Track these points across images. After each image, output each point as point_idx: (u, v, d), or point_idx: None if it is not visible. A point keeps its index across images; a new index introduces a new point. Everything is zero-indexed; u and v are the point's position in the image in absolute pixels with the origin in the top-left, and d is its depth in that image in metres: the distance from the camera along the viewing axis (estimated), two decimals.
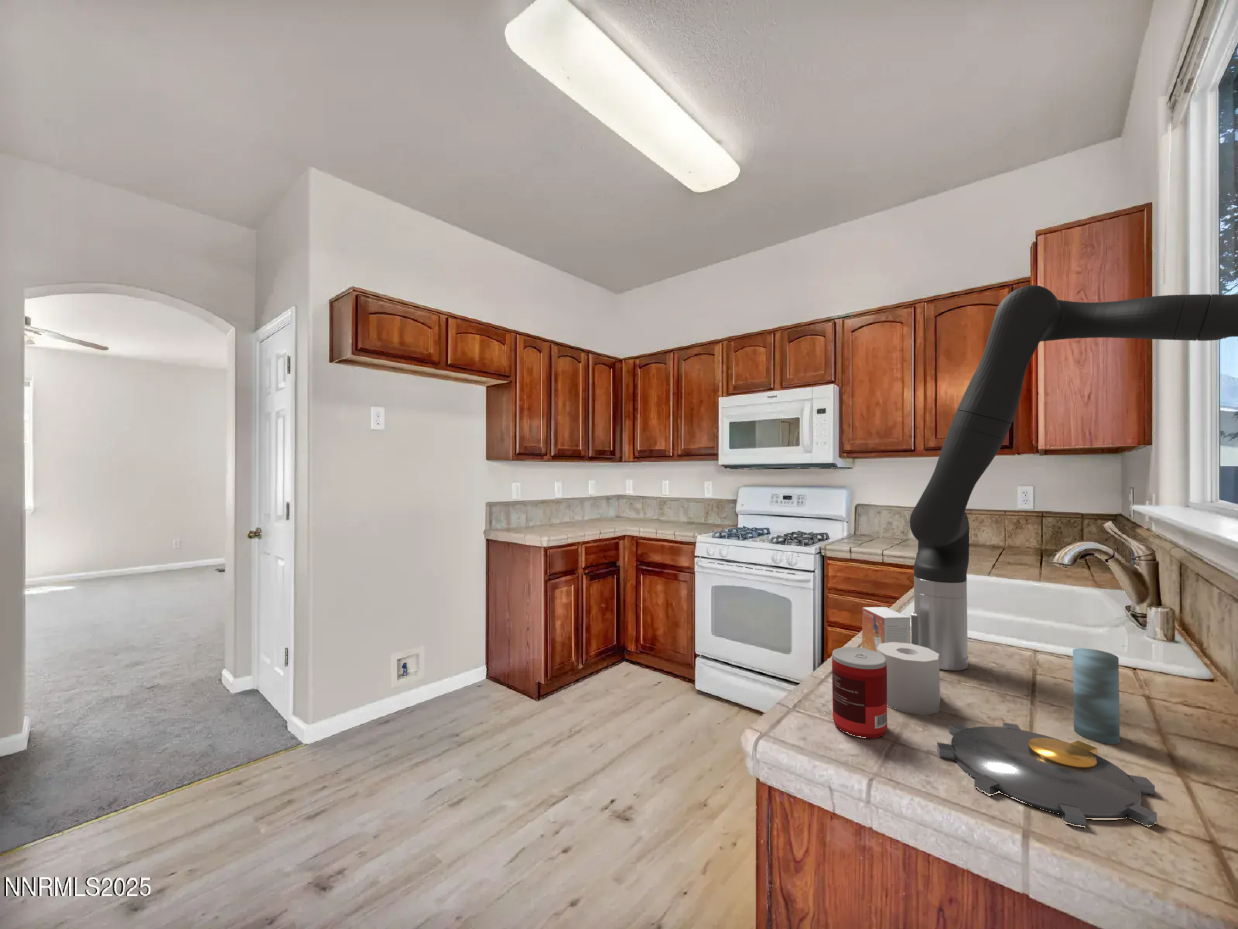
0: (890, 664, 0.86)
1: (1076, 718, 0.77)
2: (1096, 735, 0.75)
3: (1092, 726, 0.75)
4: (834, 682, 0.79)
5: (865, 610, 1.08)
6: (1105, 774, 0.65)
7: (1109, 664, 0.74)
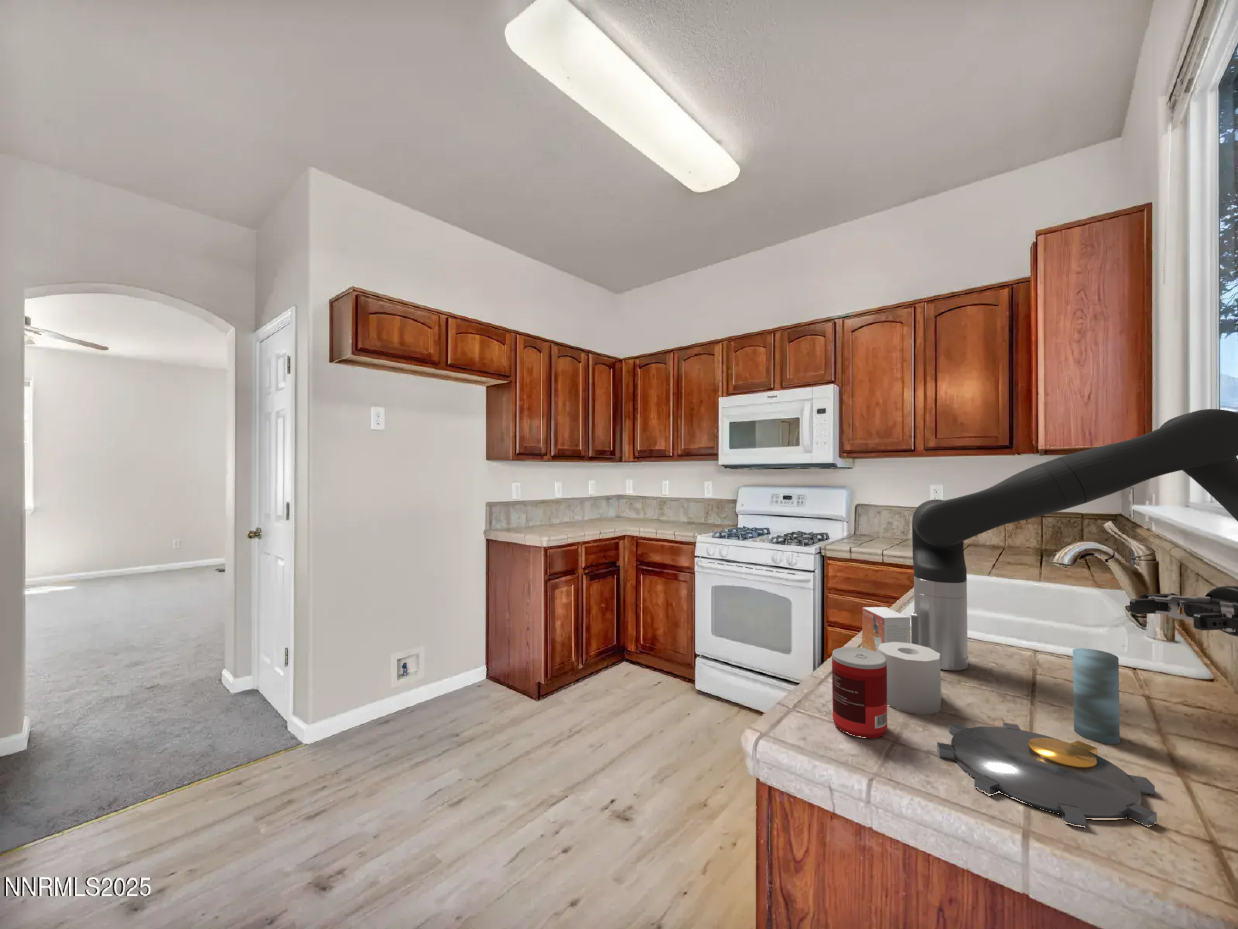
0: (892, 663, 0.86)
1: (1076, 718, 0.77)
2: (1096, 735, 0.75)
3: (1092, 725, 0.75)
4: (834, 682, 0.79)
5: (865, 610, 1.08)
6: (1105, 774, 0.65)
7: (1109, 664, 0.74)
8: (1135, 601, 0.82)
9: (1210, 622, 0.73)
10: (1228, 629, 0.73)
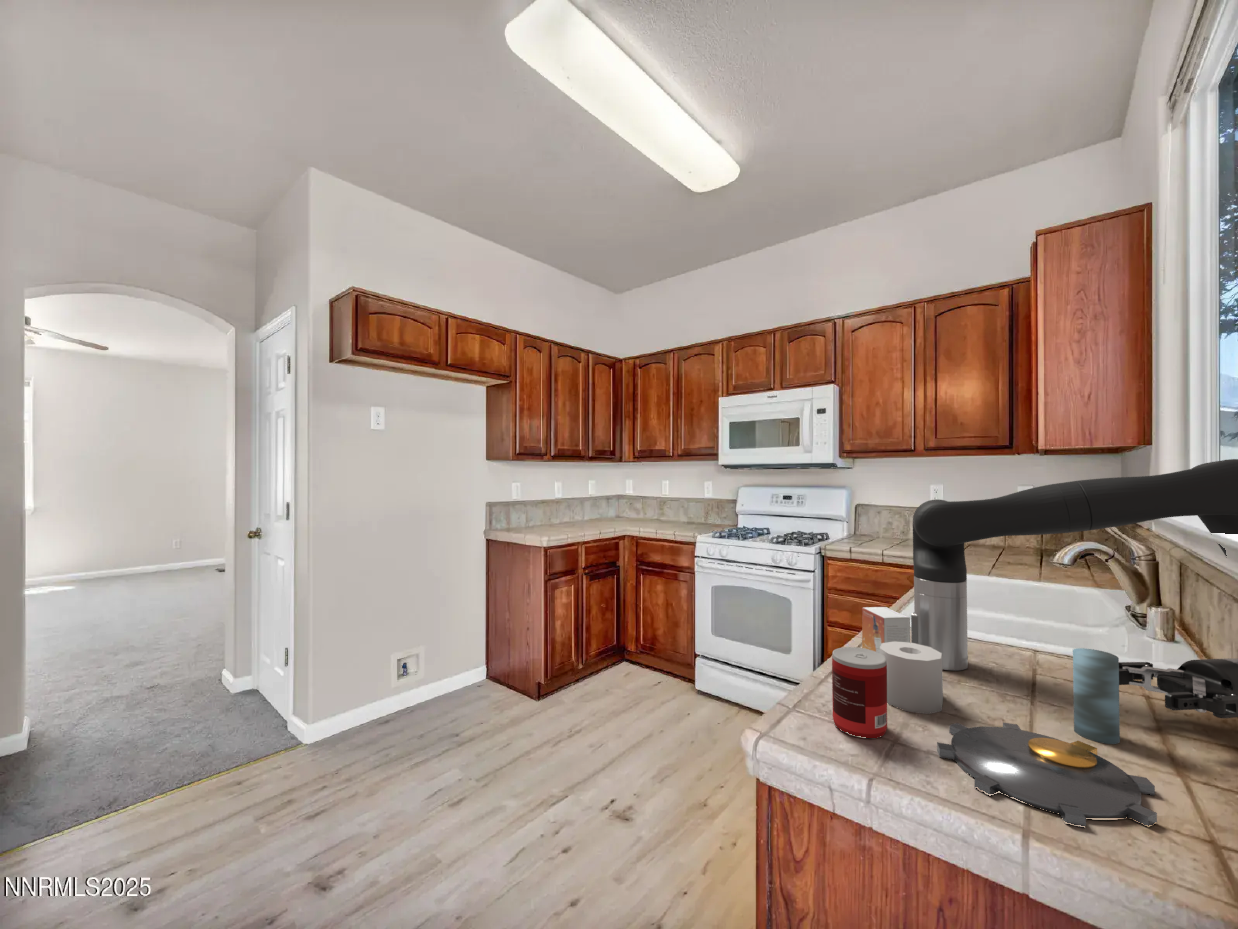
0: (893, 663, 0.86)
1: (1076, 718, 0.77)
2: (1096, 735, 0.75)
3: (1092, 725, 0.75)
4: (834, 682, 0.79)
5: (865, 610, 1.08)
6: (1105, 774, 0.65)
7: (1109, 664, 0.74)
8: None
9: (1181, 703, 0.72)
10: (1199, 709, 0.73)
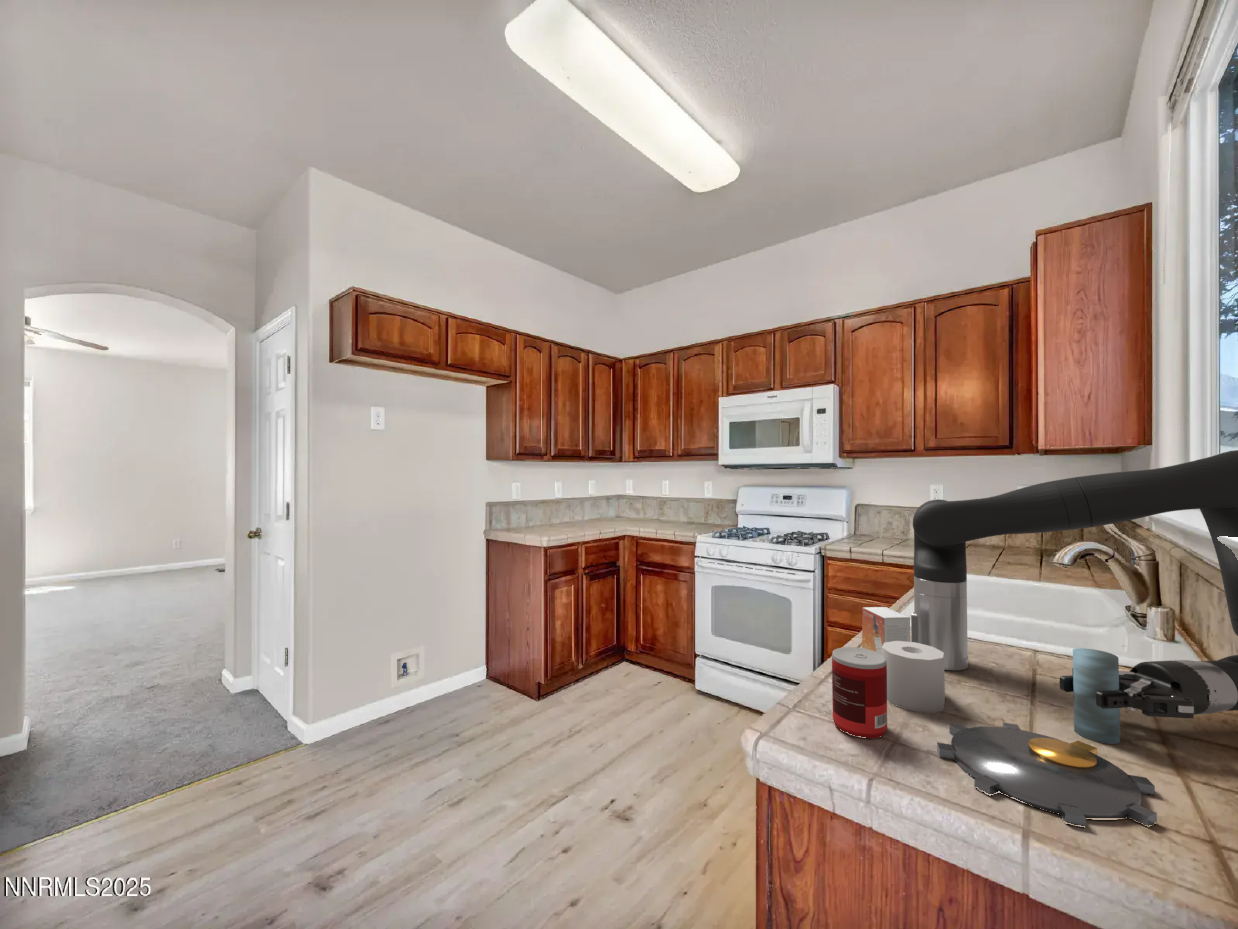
0: (896, 662, 0.86)
1: (1076, 718, 0.77)
2: (1096, 735, 0.75)
3: (1092, 726, 0.75)
4: (834, 682, 0.79)
5: (865, 610, 1.08)
6: (1105, 774, 0.65)
7: (1108, 664, 0.74)
8: (1065, 679, 0.79)
9: (1111, 701, 0.73)
10: (1127, 707, 0.73)
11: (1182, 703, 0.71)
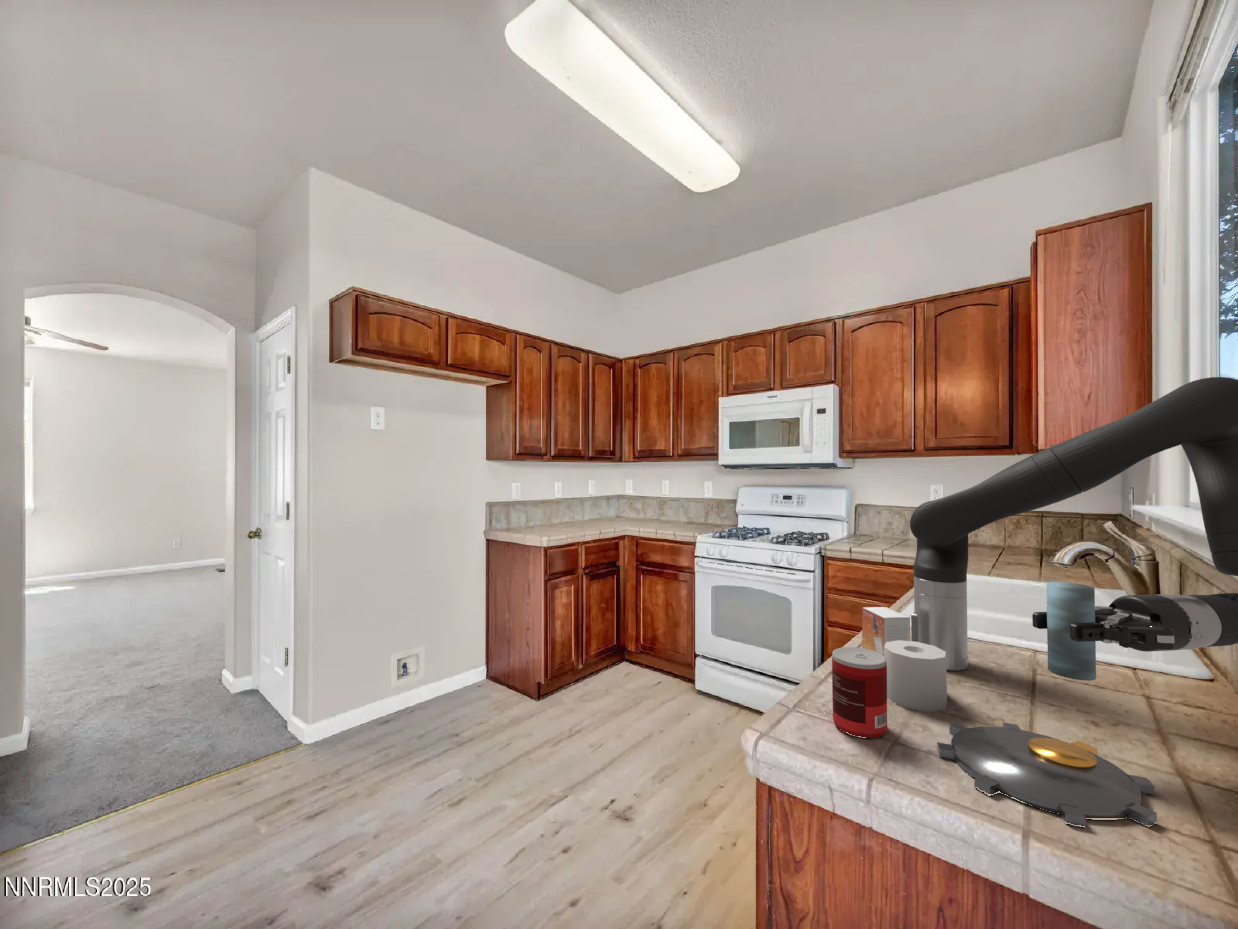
0: (898, 661, 0.87)
1: (1050, 655, 0.72)
2: (1071, 671, 0.69)
3: (1067, 661, 0.69)
4: (834, 682, 0.79)
5: (865, 610, 1.08)
6: (1105, 774, 0.65)
7: (1084, 594, 0.69)
8: (1038, 614, 0.73)
9: (1086, 633, 0.67)
10: (1104, 640, 0.68)
11: (1162, 632, 0.65)
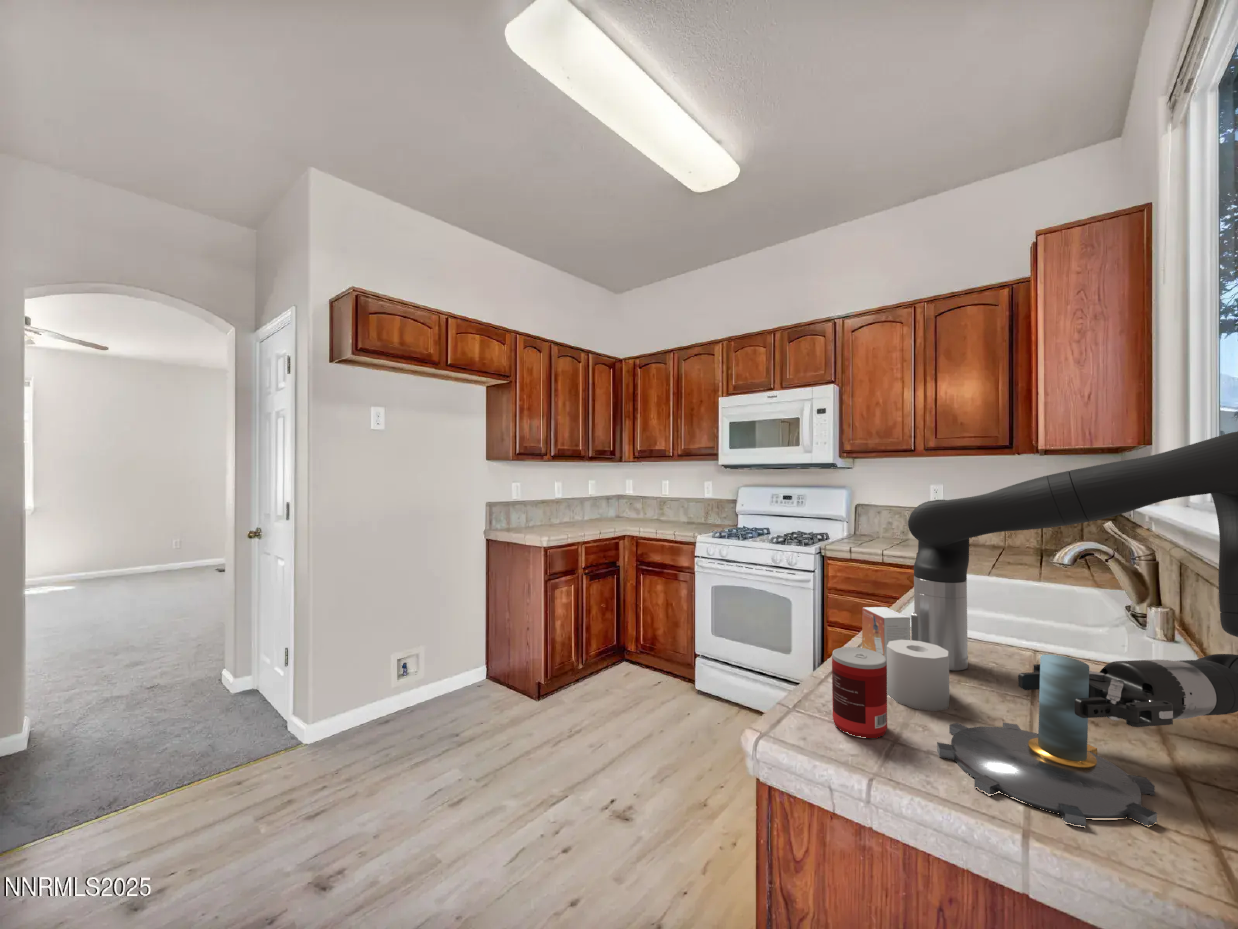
0: (901, 661, 0.87)
1: (1040, 731, 0.70)
2: (1061, 750, 0.68)
3: (1057, 740, 0.68)
4: (834, 682, 0.79)
5: (865, 610, 1.08)
6: (1105, 774, 0.65)
7: (1078, 673, 0.67)
8: (1023, 676, 0.73)
9: (1091, 710, 0.64)
10: (1112, 717, 0.65)
11: (1164, 708, 0.63)
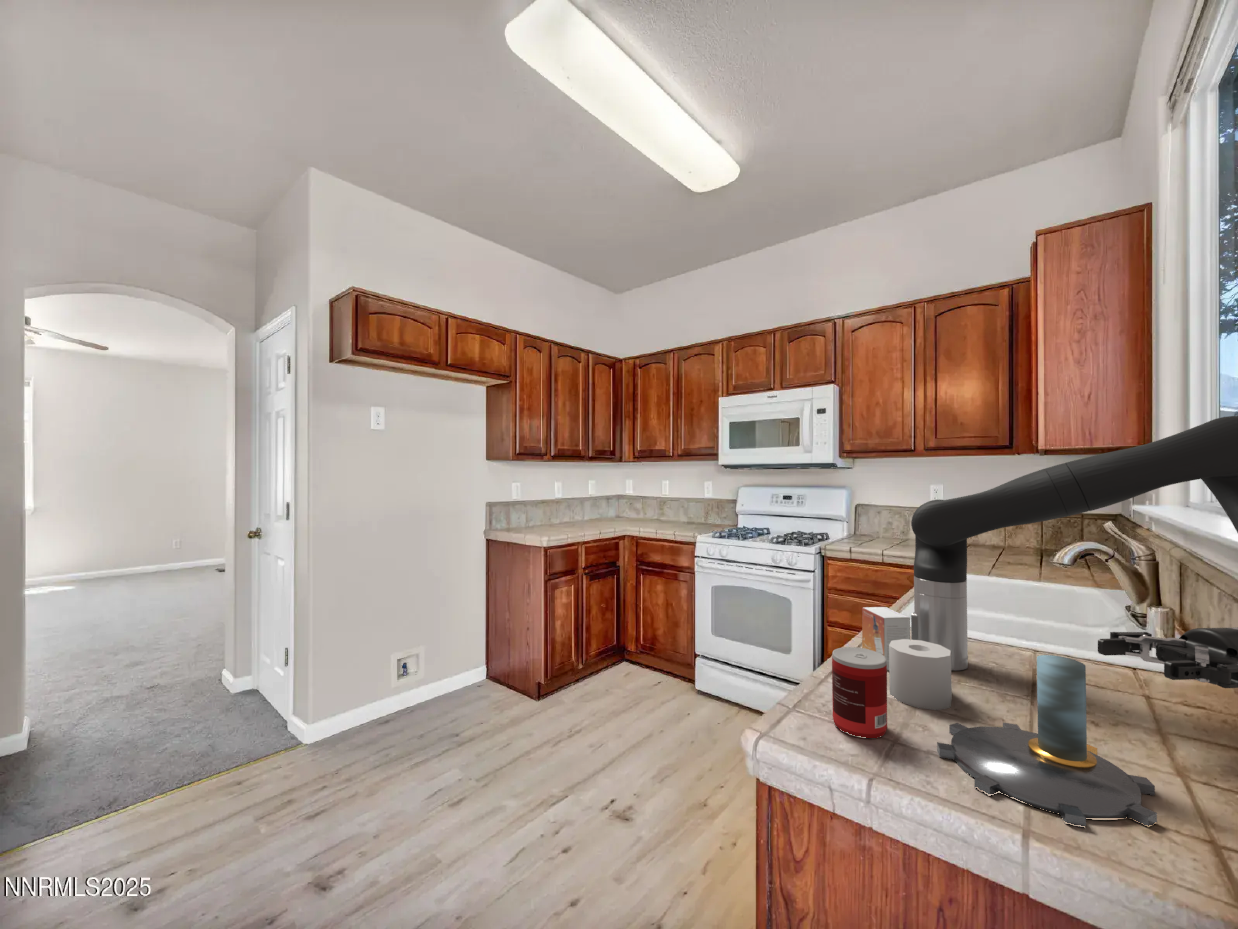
0: (903, 660, 0.87)
1: (1040, 732, 0.70)
2: (1061, 751, 0.68)
3: (1056, 741, 0.68)
4: (834, 682, 0.79)
5: (865, 610, 1.08)
6: (1105, 774, 0.65)
7: (1074, 673, 0.67)
8: (1103, 641, 0.75)
9: (1182, 671, 0.66)
10: (1201, 679, 0.66)
11: None
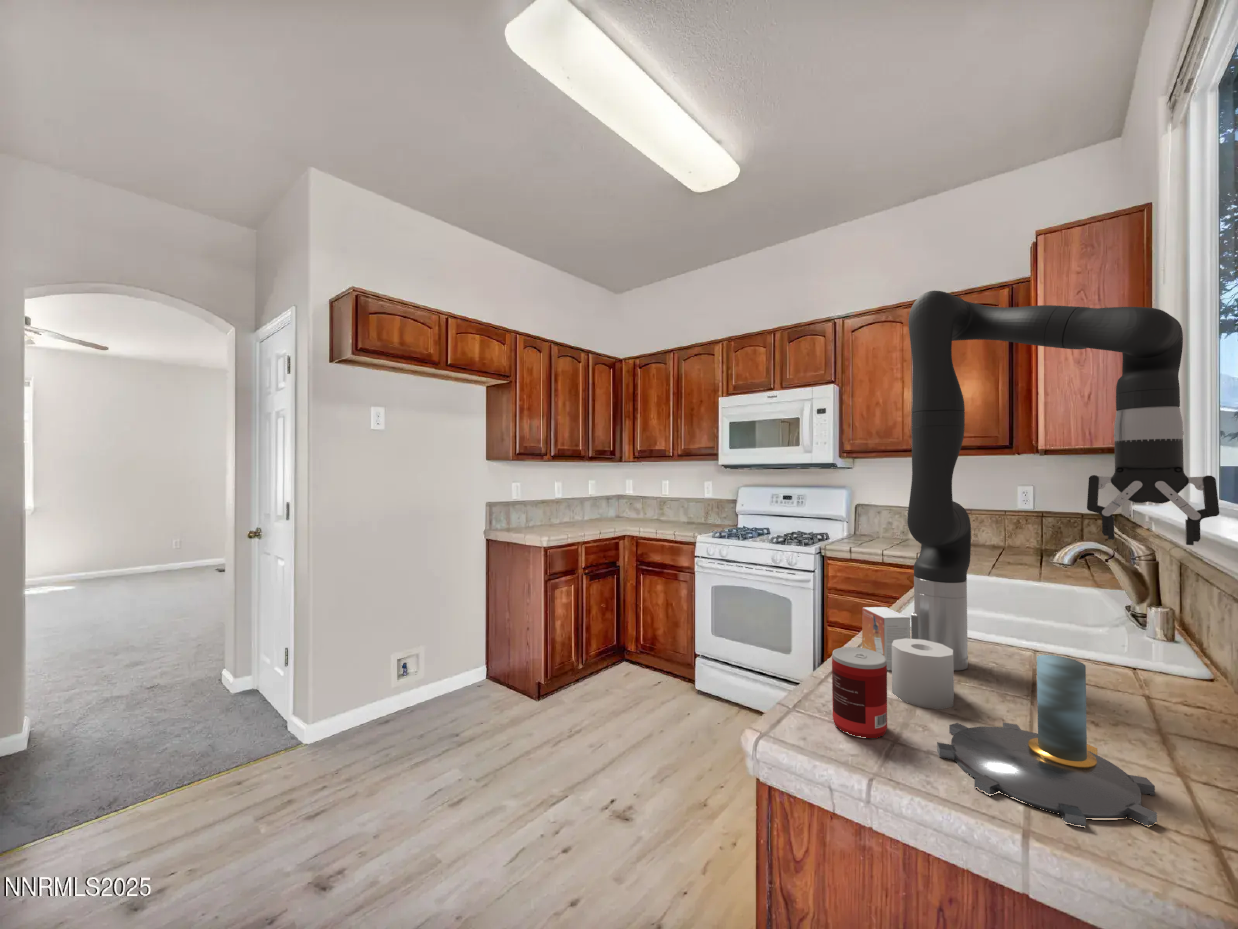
0: (906, 659, 0.88)
1: (1040, 732, 0.70)
2: (1061, 751, 0.68)
3: (1056, 741, 0.68)
4: (834, 682, 0.79)
5: (865, 610, 1.08)
6: (1105, 774, 0.65)
7: (1074, 673, 0.67)
8: (1113, 538, 0.83)
9: None
10: None
11: None
